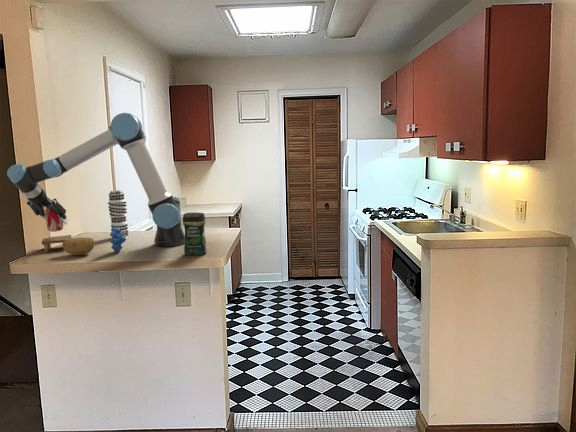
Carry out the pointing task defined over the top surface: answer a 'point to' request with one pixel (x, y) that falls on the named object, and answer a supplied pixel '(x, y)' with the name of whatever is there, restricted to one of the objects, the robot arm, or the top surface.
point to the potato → (78, 245)
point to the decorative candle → (118, 212)
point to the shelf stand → (54, 241)
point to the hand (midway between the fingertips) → (59, 222)
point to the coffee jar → (194, 233)
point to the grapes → (117, 239)
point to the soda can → (53, 221)
